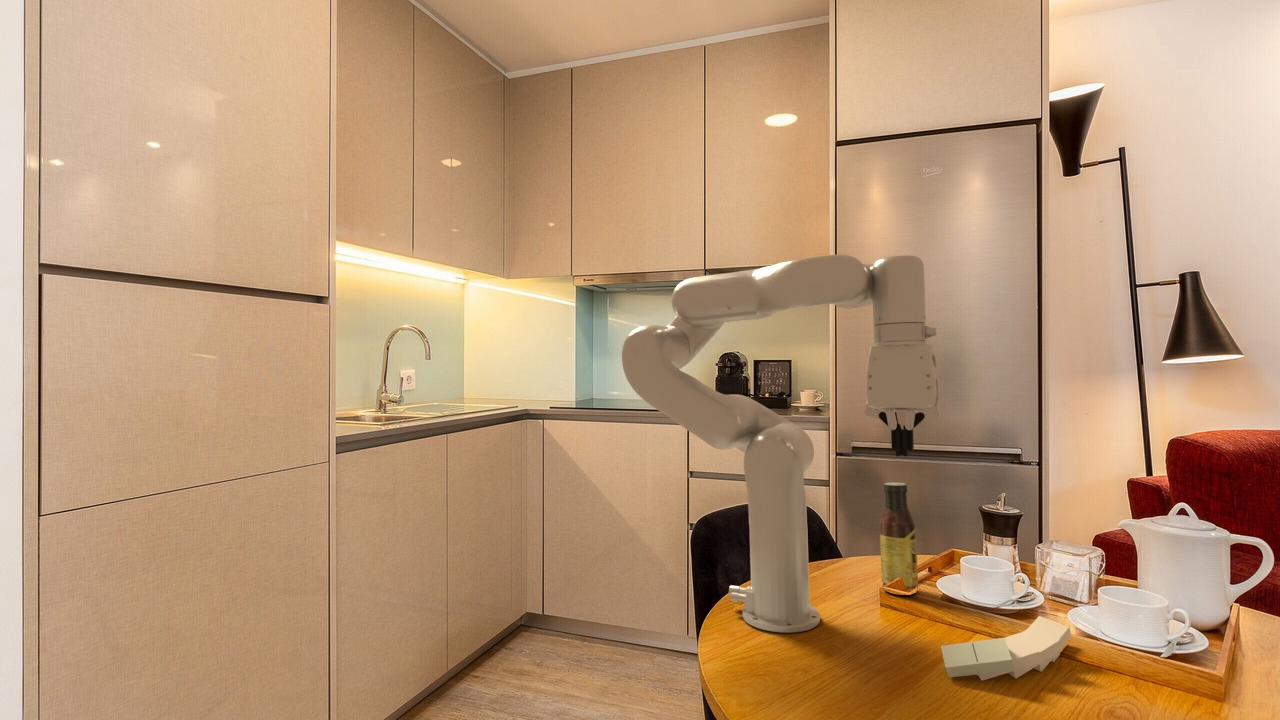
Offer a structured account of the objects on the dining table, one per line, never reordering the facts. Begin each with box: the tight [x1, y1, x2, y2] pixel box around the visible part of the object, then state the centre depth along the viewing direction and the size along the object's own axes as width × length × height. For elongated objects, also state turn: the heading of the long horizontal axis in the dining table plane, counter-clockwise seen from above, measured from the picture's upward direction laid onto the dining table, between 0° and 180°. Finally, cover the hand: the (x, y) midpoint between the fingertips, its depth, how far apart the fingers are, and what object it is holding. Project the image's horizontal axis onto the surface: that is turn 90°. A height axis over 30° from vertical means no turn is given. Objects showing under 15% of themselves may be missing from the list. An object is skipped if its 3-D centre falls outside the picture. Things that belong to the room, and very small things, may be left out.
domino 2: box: [1007, 625, 1062, 679], centre depth 85 cm, size 2×4×8 cm
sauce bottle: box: [879, 481, 919, 589], centre depth 116 cm, size 6×6×20 cm
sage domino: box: [940, 637, 1016, 678], centre depth 83 cm, size 2×4×8 cm
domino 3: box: [1028, 615, 1072, 673], centre depth 88 cm, size 2×4×8 cm
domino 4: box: [1049, 652, 1061, 663], centre depth 91 cm, size 2×4×8 cm
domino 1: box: [976, 632, 1042, 681], centre depth 84 cm, size 2×4×8 cm
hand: (902, 454), depth 97 cm, fingers closed
